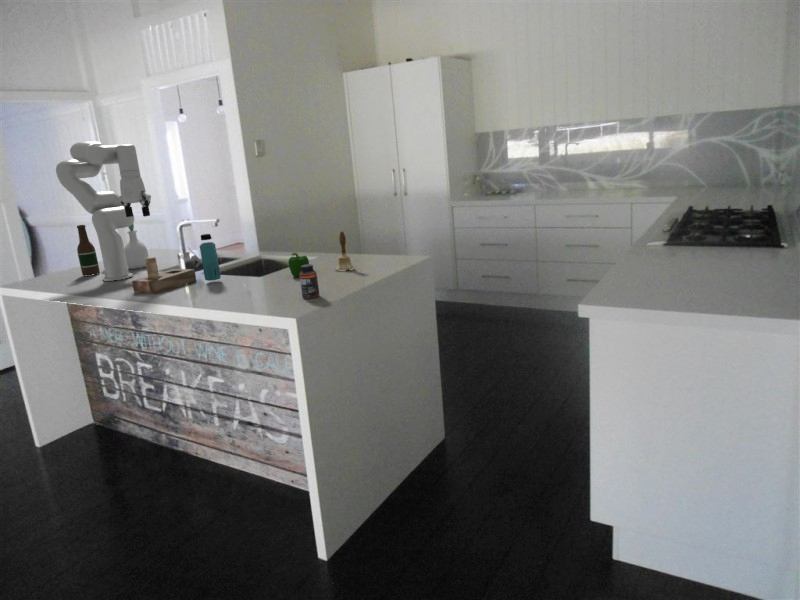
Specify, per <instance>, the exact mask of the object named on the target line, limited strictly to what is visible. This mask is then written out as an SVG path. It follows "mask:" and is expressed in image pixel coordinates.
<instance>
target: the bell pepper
mask: <svg viewBox="0 0 800 600" xmlns="http://www.w3.org/2000/svg"><path fill="white" fill-rule="evenodd" d="M306 264H310V260H309V258H308V257H307V255H302V256H300V255H298V253H297V252H292V253H291V257H290V258H289V259H288V268H289V270H290V274H291V275H292V276H293V277H294V278H300V276H299V274H300V272H301V271H302V270H301V266H302V265H306Z"/></svg>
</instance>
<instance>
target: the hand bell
mask: <svg viewBox="0 0 800 600" xmlns="http://www.w3.org/2000/svg"><path fill="white" fill-rule="evenodd" d="M338 240H339V245H340V246H341V255H340V256H339V257H338V264H337V266H336V268H335V269H336V270H348V269H352V268H354V267H355V266H354V265H353V263H352V262H351V259H350V256H349V255H347V253H346V245H347V244H346V243H347V240H346V235H345V233H344V231H340V233H339V237H338ZM336 270H335V271H336Z"/></svg>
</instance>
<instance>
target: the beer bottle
mask: <svg viewBox="0 0 800 600" xmlns="http://www.w3.org/2000/svg"><path fill="white" fill-rule="evenodd" d="M76 228H77V232H78V242H79V243H78V245H77V248H76V251H77V257H78V261H79V265H80V270H81V274H82V276H83V275H92V274H97V273H100V274H101V271H100V266H99V261H98V256H97V252H96V248H95V245H93V243H92V242H90V239H89V236H88V234H87V233H88V232H87V229H86V224H78V225H77V226H76Z"/></svg>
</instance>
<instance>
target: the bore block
mask: <svg viewBox="0 0 800 600" xmlns="http://www.w3.org/2000/svg"><path fill="white" fill-rule="evenodd" d="M158 273H159V278H158V279H154V280H149V278H148V275H147V276H144V277H140V278H137V279H135V280H131V284H132V289H133V293H134V294H144V295H158V294H161V293H165V292H167V291H170V290H173V289H176V288H178V286H179V287H182V286H185V285H187V284H186V283H188V284H191V283H194V282H197V276H196V270H195V269H194V268H189V269H188V268H171V269H168V270H165V271H162V272H161V271H160V272H158ZM193 281H194V282H193ZM190 282H191V283H190ZM184 284H185V285H184ZM181 285H182V286H181ZM175 287H176V288H175ZM172 288H173V289H172Z"/></svg>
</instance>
